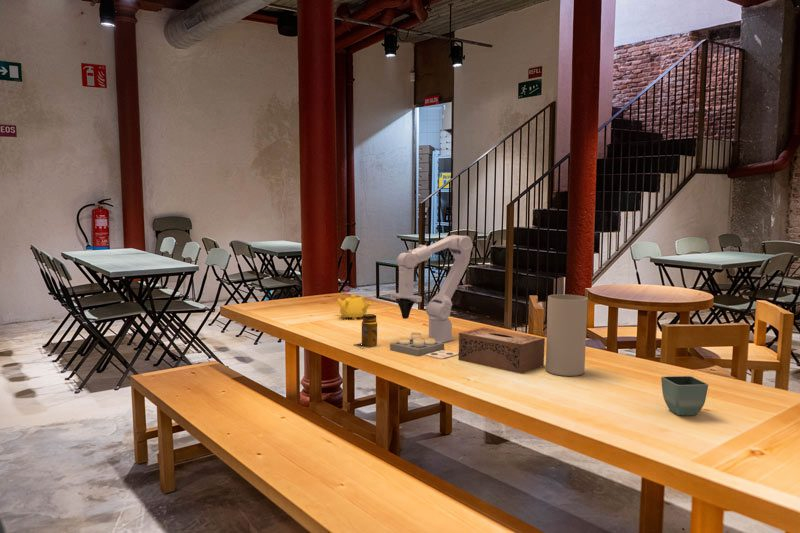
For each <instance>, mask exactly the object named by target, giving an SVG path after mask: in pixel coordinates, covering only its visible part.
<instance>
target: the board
mask: <svg viewBox="0 0 800 533" xmlns="http://www.w3.org/2000/svg"><path fill="white" fill-rule="evenodd" d="M423 339H424V348H415V347H413V342H411V338H410V344H409V345H400V344H399V341H395V342H392V343H389V351H393V352H398V353H401V352H402V354H406V353H407V354H406V355H410V354H411V355H410V356H415V357H421V356H425V354H429V353H433V352H436V351H440V350H444V351H445V342H443V343H440V342H435V345H432V346H430V345H425V338H423Z"/></svg>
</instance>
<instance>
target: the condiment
mask: <svg viewBox="0 0 800 533" xmlns="http://www.w3.org/2000/svg"><path fill="white" fill-rule="evenodd" d="M361 344H362V345H361ZM378 345H379V346H378ZM353 346H356V347H358V348H361V349H368V348H375V347H374V346H378V347H382V345H380V344H378V321H377V315H376V314H372V313H366V314H365V315H363V318H362V322H361V342H360V343H353Z"/></svg>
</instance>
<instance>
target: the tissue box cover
mask: <svg viewBox="0 0 800 533" xmlns="http://www.w3.org/2000/svg"><path fill="white" fill-rule="evenodd" d="M545 340H546V339H545V337H540V336H534V335H530V334H523V333H517V332H512V331H505V330H500V329H496V328H495V329H493V328H488V327H479V328H475V329H470V330H467V331H461V332H458V353H459V355H458V361H462V362H467V363H469V364H470V363H471V364H475V365H481V366H485V367H488V368H494V369H497V370H503V371H507V372H512V373H515V374H516V373H517V374H524V373H527V372H530V371H532V370H535V369H539V368H541V367H544V366H545V345H546V344H545Z"/></svg>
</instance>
